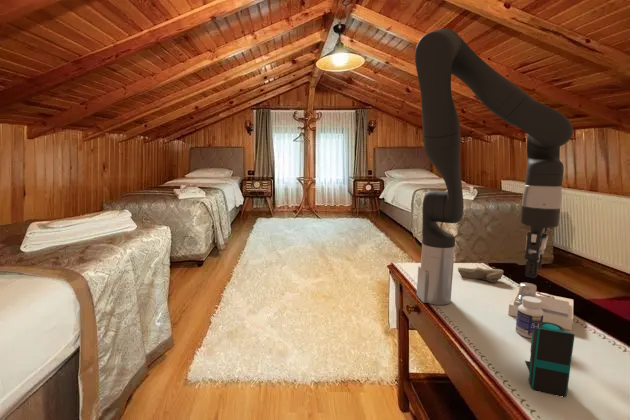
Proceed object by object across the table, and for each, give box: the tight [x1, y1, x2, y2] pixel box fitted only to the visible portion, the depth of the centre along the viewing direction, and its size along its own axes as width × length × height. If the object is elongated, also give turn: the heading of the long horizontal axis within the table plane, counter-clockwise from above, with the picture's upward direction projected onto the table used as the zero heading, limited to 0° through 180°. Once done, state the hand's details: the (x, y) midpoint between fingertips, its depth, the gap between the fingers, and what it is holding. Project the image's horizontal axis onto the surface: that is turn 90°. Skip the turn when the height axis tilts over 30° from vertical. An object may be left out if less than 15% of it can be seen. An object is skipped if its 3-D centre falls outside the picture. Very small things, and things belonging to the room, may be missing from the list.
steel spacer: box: [518, 282, 537, 299], centre depth 94 cm, size 4×4×4 cm
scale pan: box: [514, 292, 569, 317], centre depth 92 cm, size 10×12×1 cm
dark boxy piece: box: [524, 322, 576, 398], centre depth 64 cm, size 6×12×10 cm
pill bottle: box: [515, 296, 544, 339], centre depth 81 cm, size 5×5×9 cm
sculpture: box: [457, 266, 504, 284], centre depth 121 cm, size 7×5×15 cm
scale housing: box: [507, 287, 574, 331], centre depth 94 cm, size 16×14×4 cm
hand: (533, 272), depth 79 cm, fingers open, 8 cm apart
